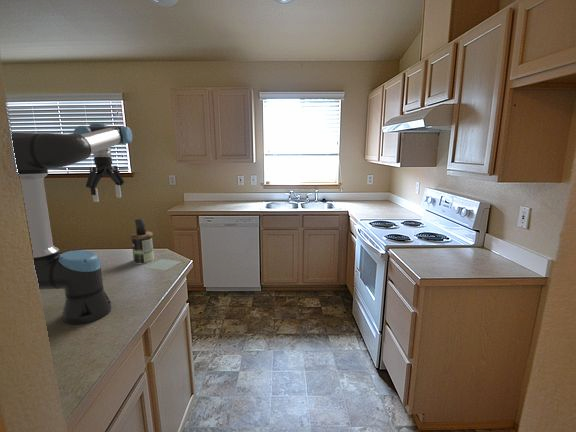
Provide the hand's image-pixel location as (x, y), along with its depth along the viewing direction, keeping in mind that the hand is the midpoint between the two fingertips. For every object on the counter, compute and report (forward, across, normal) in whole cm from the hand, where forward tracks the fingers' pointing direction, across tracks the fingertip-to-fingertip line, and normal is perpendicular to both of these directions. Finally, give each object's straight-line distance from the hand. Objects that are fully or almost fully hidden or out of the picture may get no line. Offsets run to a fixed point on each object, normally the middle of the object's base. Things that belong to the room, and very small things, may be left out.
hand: (108, 199), depth 155 cm
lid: (+21, +9, -10) cm, 25 cm away
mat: (+35, +7, -24) cm, 43 cm away
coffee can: (+35, +9, -10) cm, 37 cm away
